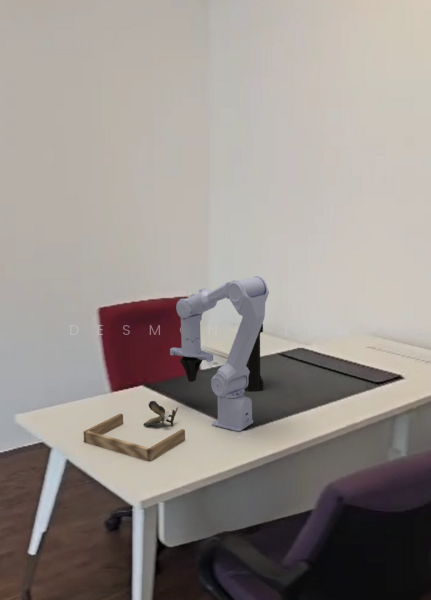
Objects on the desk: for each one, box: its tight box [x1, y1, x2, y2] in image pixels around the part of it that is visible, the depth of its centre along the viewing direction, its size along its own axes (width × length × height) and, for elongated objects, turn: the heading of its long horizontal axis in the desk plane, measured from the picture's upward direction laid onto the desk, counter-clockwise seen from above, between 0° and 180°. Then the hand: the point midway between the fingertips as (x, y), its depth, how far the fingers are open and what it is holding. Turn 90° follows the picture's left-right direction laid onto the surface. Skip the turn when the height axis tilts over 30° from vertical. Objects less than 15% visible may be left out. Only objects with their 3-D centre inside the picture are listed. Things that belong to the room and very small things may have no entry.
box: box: [83, 413, 186, 462], centre depth 178 cm, size 23×15×3 cm, turn 57°
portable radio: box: [244, 322, 264, 392], centre depth 217 cm, size 8×6×25 cm
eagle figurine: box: [143, 400, 179, 427], centre depth 189 cm, size 8×7×9 cm
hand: (192, 380), depth 199 cm, fingers closed
